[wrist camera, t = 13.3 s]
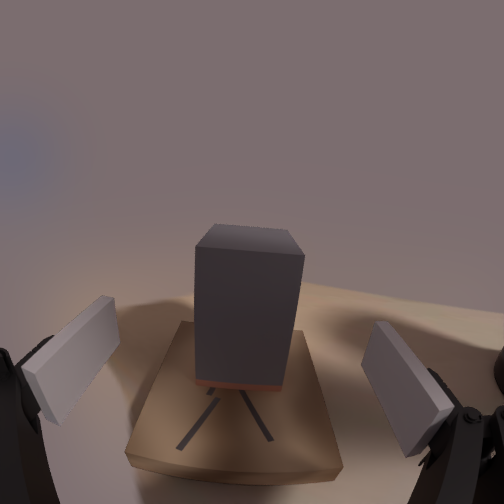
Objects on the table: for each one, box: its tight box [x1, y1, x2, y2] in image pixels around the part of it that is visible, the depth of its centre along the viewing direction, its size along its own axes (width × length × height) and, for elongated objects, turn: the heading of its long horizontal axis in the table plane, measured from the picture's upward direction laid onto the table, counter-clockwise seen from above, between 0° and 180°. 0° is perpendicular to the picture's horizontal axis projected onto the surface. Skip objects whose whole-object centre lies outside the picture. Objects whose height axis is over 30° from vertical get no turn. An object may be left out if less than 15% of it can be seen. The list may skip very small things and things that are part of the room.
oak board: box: [125, 321, 343, 485], centre depth 19 cm, size 12×16×2 cm
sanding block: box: [194, 224, 305, 392], centre depth 20 cm, size 6×8×10 cm
